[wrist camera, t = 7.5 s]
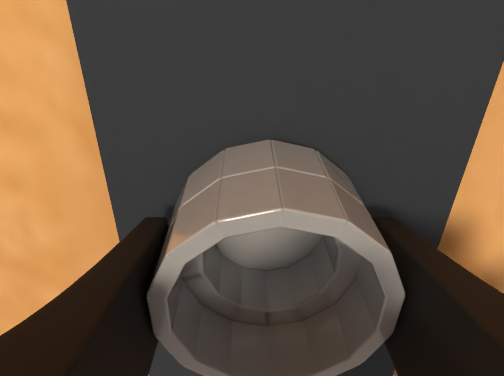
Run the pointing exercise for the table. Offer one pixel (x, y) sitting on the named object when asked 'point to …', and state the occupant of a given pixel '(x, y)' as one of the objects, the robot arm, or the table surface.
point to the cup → (272, 268)
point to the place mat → (290, 99)
